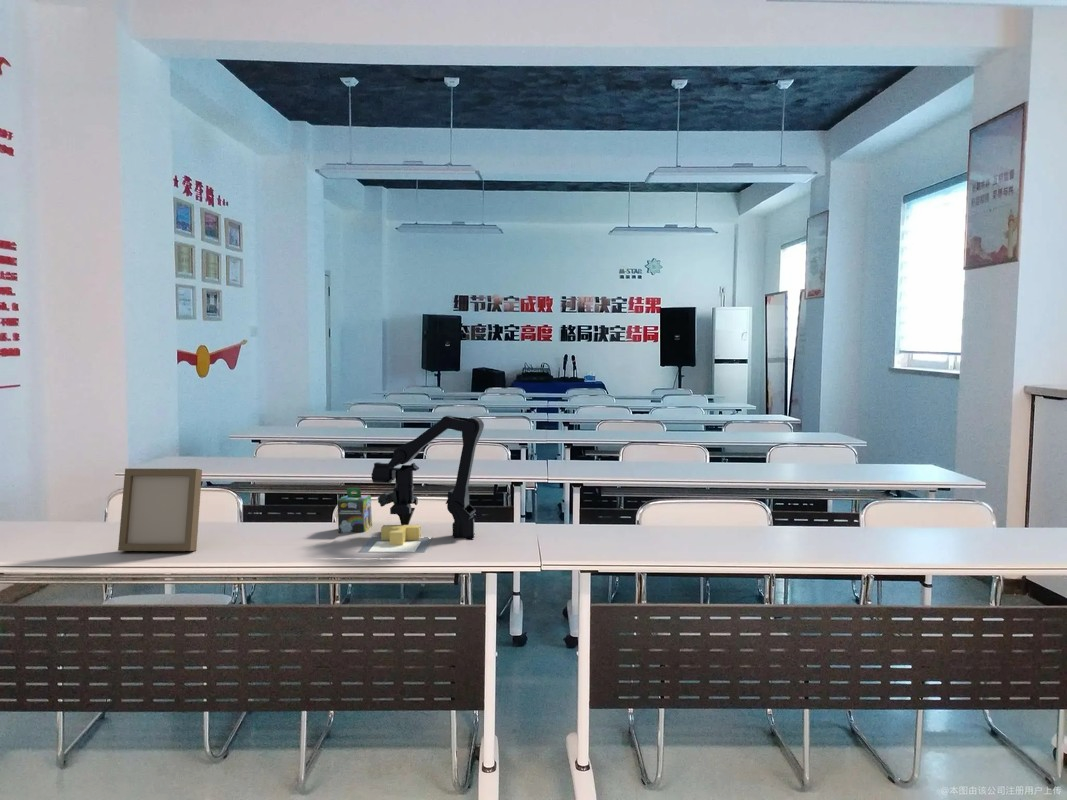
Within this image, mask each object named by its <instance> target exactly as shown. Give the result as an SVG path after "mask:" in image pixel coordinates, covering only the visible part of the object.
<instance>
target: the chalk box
mask: <svg viewBox="0 0 1067 800" xmlns="http://www.w3.org/2000/svg"><path fill="white" fill-rule="evenodd" d="M352 492H356V494H352ZM361 493H362V492H361V488H360V487H347V488H346V494H347V495H345V496H341V497H340V498H339V499H338V500H337V522H338V523H337V524H338V526H337V527H338V533H339V532H343V533H365V532H367V531H368V530H370V529H371V528H372V527H373V518H372V495H371V494H361ZM371 526H372V527H371ZM370 527H371V528H370ZM369 528H370V529H369ZM366 530H367V531H366Z"/></svg>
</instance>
